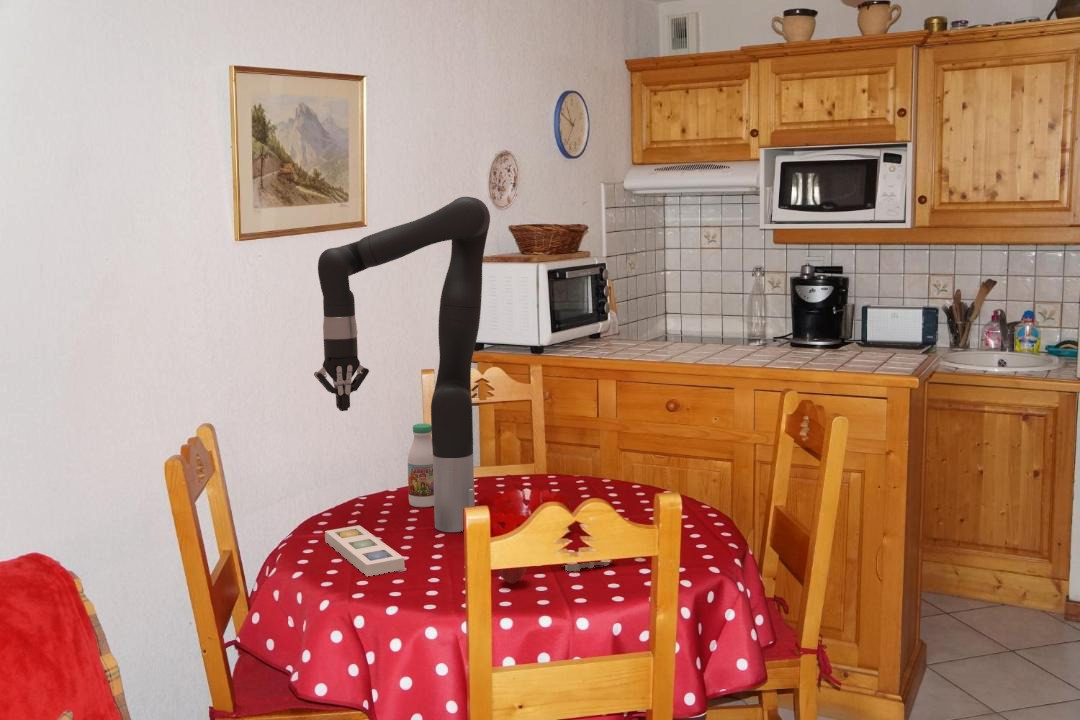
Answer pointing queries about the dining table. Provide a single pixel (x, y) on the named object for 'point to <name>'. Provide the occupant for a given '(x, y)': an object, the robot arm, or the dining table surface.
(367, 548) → the button panel
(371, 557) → the blue button
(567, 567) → the egg carton
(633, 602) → the dining table surface
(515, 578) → the onion
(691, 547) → the dining table surface
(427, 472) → the milk bottle
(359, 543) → the sage button
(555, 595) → the dining table surface
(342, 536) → the ochre button
